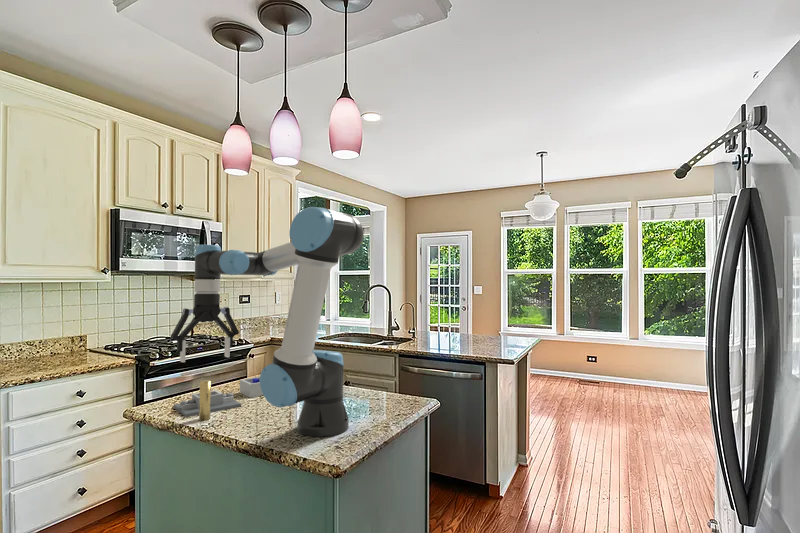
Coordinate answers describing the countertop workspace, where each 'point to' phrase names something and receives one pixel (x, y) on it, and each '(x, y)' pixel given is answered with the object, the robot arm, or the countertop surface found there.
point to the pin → (205, 400)
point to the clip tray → (250, 387)
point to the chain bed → (216, 403)
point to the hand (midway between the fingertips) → (205, 359)
